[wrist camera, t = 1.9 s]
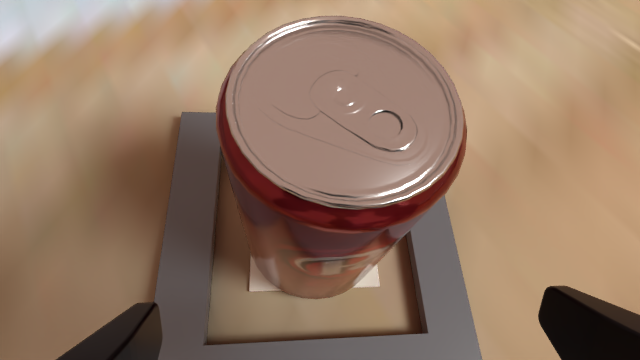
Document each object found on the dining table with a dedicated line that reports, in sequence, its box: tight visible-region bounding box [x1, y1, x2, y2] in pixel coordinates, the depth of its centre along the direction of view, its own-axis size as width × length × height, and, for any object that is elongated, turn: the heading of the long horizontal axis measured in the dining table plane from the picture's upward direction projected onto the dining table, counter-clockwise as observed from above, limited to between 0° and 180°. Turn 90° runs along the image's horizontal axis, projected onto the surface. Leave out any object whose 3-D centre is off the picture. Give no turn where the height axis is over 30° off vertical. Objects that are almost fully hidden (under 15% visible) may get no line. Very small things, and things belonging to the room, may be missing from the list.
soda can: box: [216, 16, 467, 299], centre depth 15 cm, size 7×7×12 cm
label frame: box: [154, 112, 482, 360], centre depth 18 cm, size 26×16×1 cm, turn 3°
